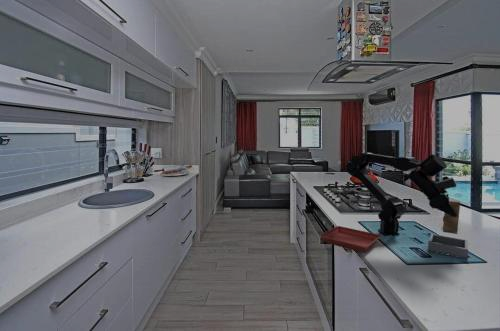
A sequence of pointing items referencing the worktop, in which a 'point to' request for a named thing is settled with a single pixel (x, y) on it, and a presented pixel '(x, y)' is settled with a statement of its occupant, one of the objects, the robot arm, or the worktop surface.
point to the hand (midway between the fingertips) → (455, 215)
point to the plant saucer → (350, 238)
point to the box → (448, 245)
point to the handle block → (452, 218)
